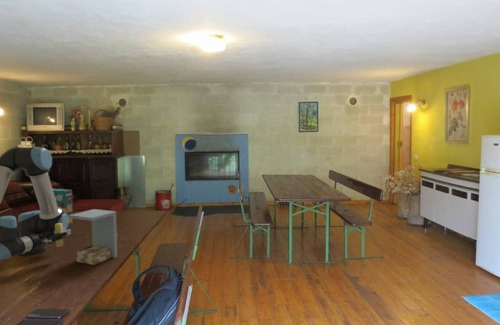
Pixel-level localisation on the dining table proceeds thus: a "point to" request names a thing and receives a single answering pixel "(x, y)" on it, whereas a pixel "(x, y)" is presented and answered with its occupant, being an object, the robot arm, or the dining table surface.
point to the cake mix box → (65, 205)
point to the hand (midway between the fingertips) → (67, 231)
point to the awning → (101, 228)
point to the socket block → (93, 255)
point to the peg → (57, 230)
